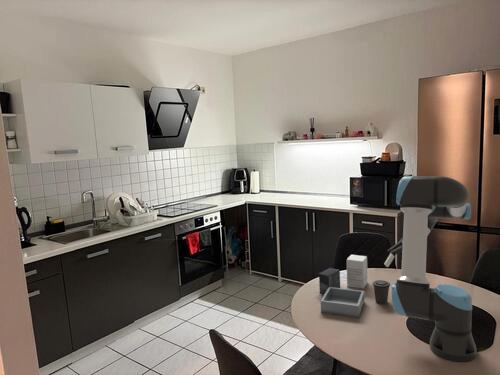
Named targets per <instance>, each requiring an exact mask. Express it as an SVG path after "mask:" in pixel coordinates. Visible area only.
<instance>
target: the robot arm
mask: <svg viewBox="0 0 500 375" xmlns="http://www.w3.org/2000/svg"><path fill="white" fill-rule="evenodd" d="M396 190H397V191H396V198H395V199H396V200H395V203H396V204H397V206H400V208H399V209H400V211H401V212H402V213H403V227H402V228H403V231H402V237H401V238H400V240H399V241H398V242H396V243H395V244H394V245H392V246H391V247H390V248H388V249H387V252H388V253H389V254H388V255H387V257H386V260H385V261H384V263H383V264H384V265H385V267H386V268H389V266H390V265H391V264H392V262H393V260H394V258H396V257H395V256H396V255H398V254H400V253H402V255H401V268H400V269H401V271H400V272H401V273H400V275H399V276H398V277H397V278H396V282H394V283H392V285H391V303H392V308H393V311H394V312H395V313H396V314H397V315H400V316H404V317H407V318H416V319H420V320H425V321H431V322H435V323H434V324H435V326H434V329H433V331H432V334H431V336H430V339H429V348H430V350H431V351H432V352H433V353H434V354H435V355H436V356H438V357H440V358H442V359H445V360H449V361H452V362H458V363H459V362H460V363H461V362H464V363H465V362H470V361H473V360H474V359H475V358H477V346H476V343H475V340H474V337H473V334H472V313H473V312H472V311H473V305H472V304H473V303H472V301H473V300H472V296H471V294H470V293H469V292H468V291H467V290H464V289H463V288H461V287H459V286H456V285H452V284H447V283H443V284H442V283H441V284H437V285H436V286H435V288H432V287H430V285H431V284H430V281H429V280H428V279H427V278H426V273H427V248H428V236H429V234H430V233H431V231H432V230H433V228H434V227H435V226H436V223H437V222H438V221H439V220H440V219H452V220H453V219H454V220H463V221H464V220H470V219H471V218H472V216H471V215H472V205H471V203H468V201H469V199H470V194H469V190H468V189H467V187H466V185H464V184H463V183H462V182H460V181H459V180H457V179H454V178H451V177H448V176H443V175H442V176H441V175H439V176H431V175H430V176H429V175H428V176H427V175H411V176H403V177H402V178H401V179H400V180H399V183H398V185H397V189H396Z"/></svg>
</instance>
